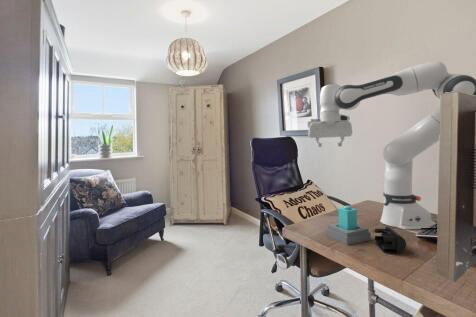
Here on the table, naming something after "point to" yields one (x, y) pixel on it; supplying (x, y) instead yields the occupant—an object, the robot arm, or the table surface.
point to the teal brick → (347, 218)
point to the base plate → (348, 234)
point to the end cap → (389, 241)
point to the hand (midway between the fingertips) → (329, 146)
